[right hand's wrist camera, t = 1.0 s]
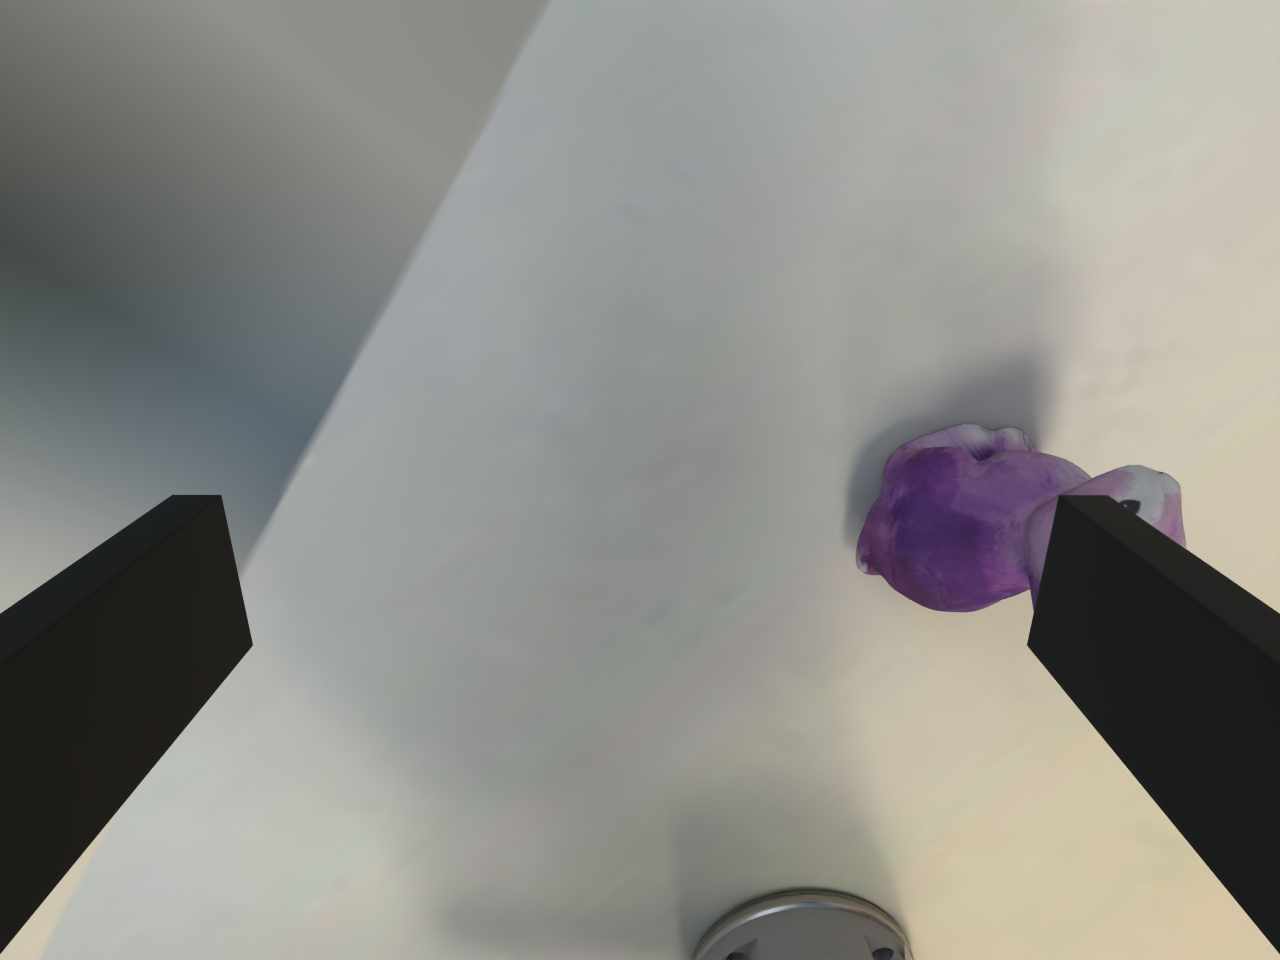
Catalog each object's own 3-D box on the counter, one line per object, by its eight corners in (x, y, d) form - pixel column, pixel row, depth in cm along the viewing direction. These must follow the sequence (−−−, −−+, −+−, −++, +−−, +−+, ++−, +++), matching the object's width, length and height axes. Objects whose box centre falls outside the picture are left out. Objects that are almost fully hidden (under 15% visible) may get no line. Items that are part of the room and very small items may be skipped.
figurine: (1076, 408, 39) (1314, 541, 25) (1005, 584, 43) (1179, 784, 29) (895, 375, 39) (1039, 493, 25) (839, 557, 42) (936, 747, 29)
